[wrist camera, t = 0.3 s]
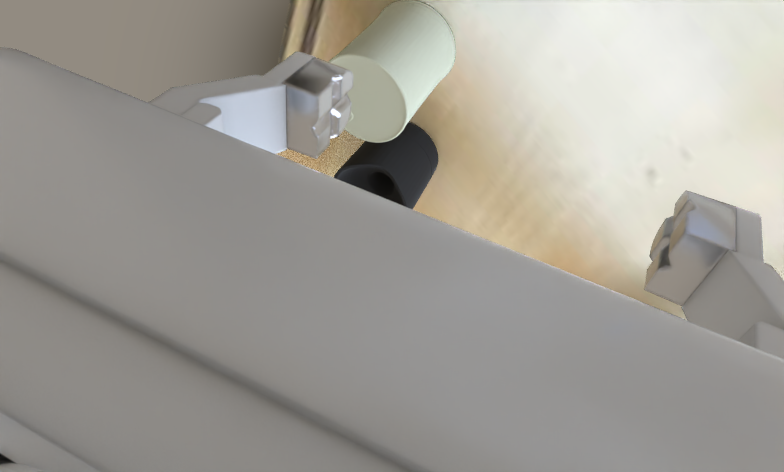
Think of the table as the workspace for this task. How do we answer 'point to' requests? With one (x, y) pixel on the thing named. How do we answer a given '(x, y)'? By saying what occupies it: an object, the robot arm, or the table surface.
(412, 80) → the can
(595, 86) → the table surface
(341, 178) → the pen holder
